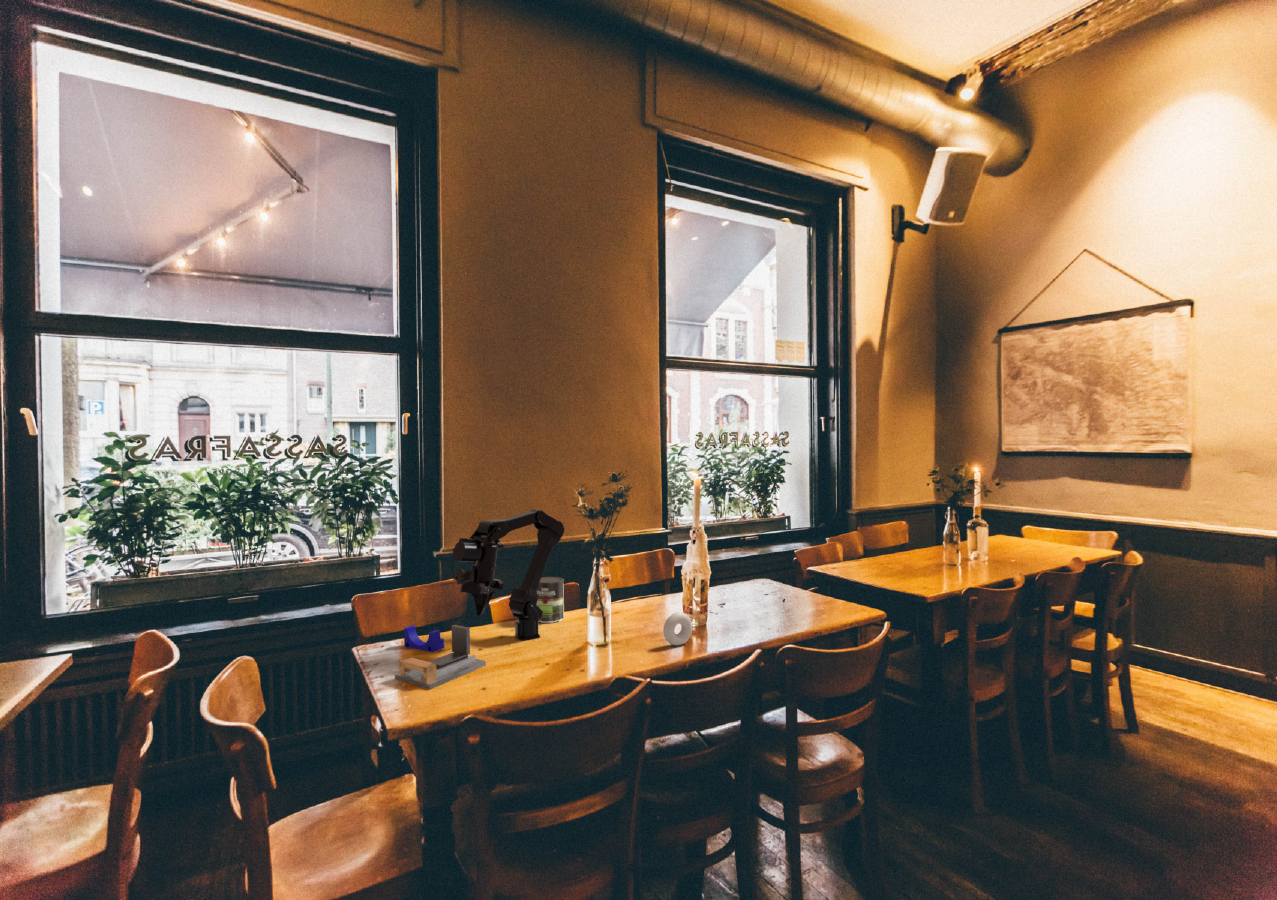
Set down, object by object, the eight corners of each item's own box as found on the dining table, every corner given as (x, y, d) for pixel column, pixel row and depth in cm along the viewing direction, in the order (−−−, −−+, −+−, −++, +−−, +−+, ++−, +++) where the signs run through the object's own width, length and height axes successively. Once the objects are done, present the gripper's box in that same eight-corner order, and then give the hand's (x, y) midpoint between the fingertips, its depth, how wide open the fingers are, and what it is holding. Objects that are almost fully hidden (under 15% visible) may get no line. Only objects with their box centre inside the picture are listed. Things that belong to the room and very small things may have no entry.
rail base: (451, 656, 174) (451, 639, 174) (485, 665, 167) (485, 647, 167) (394, 678, 158) (394, 660, 158) (430, 689, 151) (429, 669, 151)
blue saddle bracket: (444, 648, 182) (443, 628, 182) (432, 653, 178) (432, 633, 178) (415, 643, 188) (415, 624, 188) (404, 647, 184) (404, 628, 184)
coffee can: (559, 624, 205) (558, 583, 205) (530, 623, 207) (530, 582, 207) (568, 615, 216) (567, 576, 216) (540, 614, 217) (540, 576, 217)
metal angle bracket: (455, 656, 170) (454, 624, 170) (470, 659, 167) (469, 627, 167) (426, 667, 162) (425, 634, 162) (441, 671, 159) (440, 637, 159)
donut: (667, 649, 178) (666, 616, 177) (661, 646, 180) (660, 613, 180) (694, 643, 183) (694, 611, 182) (688, 640, 186) (687, 608, 185)
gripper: (473, 558, 190) (466, 608, 188) (447, 560, 172) (439, 616, 170) (506, 562, 188) (500, 612, 186) (483, 564, 170) (476, 620, 168)
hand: (479, 615), depth 177 cm, fingers closed
